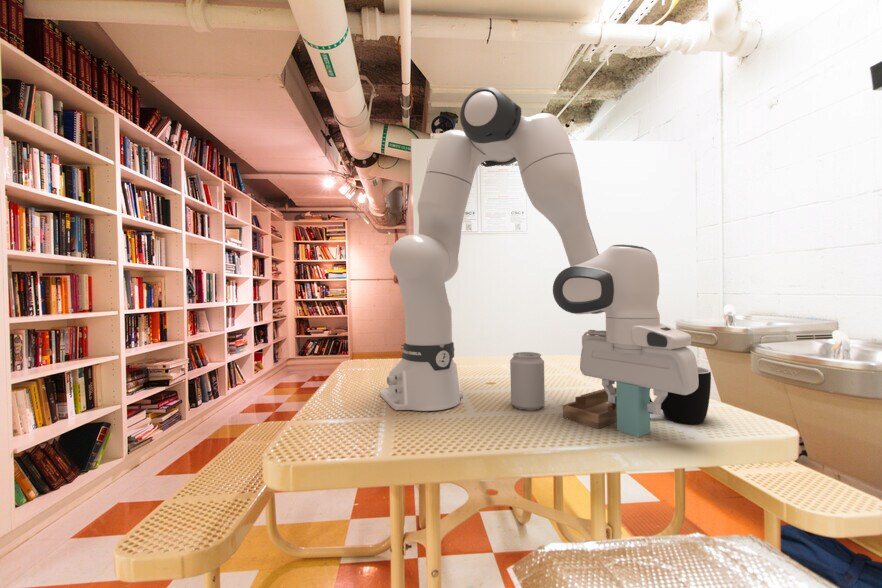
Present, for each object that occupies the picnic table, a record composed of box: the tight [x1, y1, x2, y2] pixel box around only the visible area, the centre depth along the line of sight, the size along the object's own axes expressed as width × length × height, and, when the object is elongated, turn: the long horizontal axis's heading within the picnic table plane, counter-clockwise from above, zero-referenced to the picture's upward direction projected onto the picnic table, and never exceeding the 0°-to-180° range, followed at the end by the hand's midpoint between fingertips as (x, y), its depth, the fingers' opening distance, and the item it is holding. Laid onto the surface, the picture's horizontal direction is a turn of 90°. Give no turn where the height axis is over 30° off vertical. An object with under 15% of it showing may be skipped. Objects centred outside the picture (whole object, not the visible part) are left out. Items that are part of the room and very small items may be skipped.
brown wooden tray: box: [562, 386, 617, 430], centre depth 78 cm, size 8×18×4 cm, turn 124°
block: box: [615, 382, 651, 438], centre depth 68 cm, size 4×4×9 cm
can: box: [509, 351, 546, 411], centre depth 84 cm, size 8×8×12 cm
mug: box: [650, 365, 712, 425], centre depth 74 cm, size 12×9×10 cm
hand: (633, 408), depth 68 cm, fingers open, 6 cm apart
